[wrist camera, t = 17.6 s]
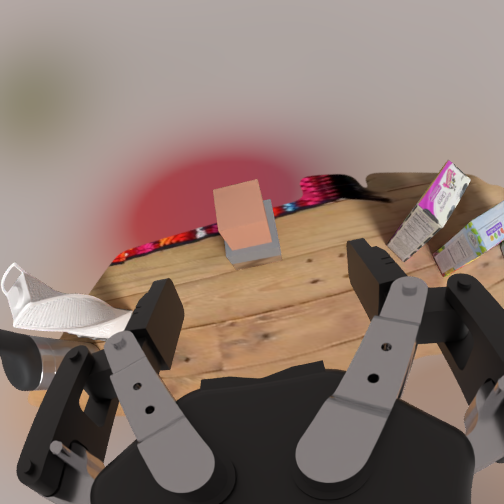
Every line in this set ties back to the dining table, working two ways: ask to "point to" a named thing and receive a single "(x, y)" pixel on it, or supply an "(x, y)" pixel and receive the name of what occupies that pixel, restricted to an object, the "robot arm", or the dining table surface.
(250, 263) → the walnut block
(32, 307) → the twisted tower model
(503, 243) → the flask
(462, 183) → the candy bar box
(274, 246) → the gray block
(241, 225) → the salmon orange block
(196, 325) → the dining table surface
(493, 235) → the snack box
